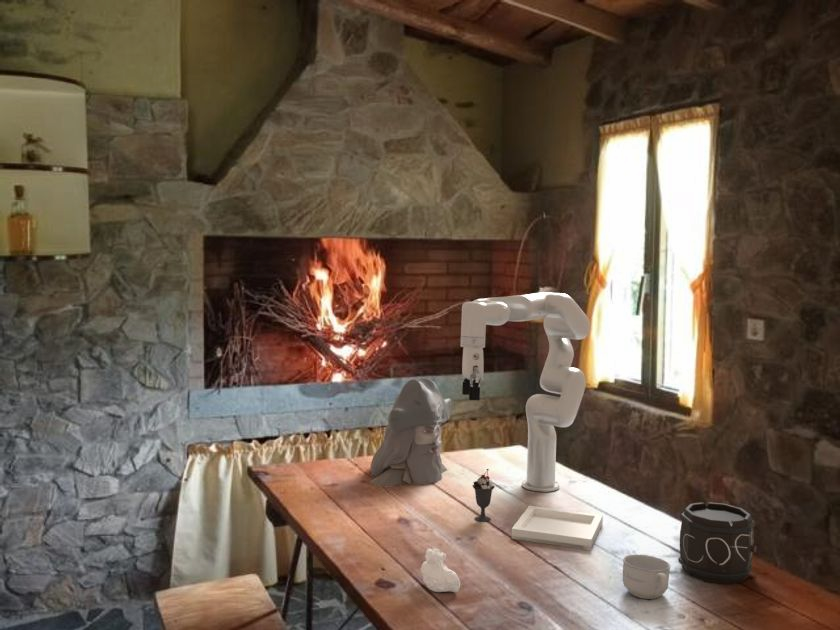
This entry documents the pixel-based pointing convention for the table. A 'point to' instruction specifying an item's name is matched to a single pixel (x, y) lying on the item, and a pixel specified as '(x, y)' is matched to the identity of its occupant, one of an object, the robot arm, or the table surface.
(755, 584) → the table surface
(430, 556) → the cream lumpy figure
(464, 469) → the table surface
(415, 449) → the bust
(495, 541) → the table surface
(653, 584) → the teacup
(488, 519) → the sundae
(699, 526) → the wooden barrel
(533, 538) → the tray
